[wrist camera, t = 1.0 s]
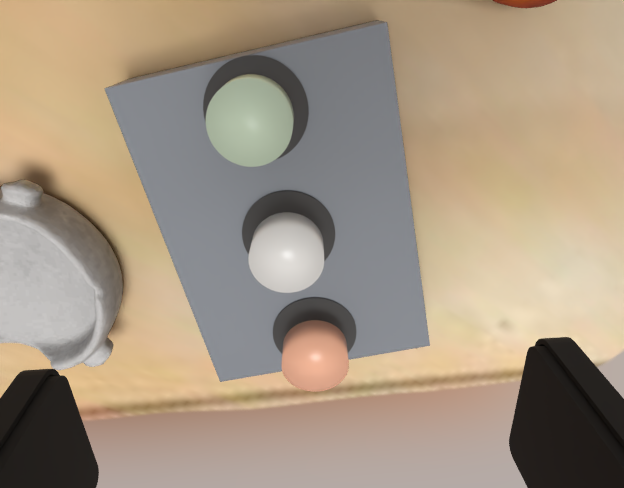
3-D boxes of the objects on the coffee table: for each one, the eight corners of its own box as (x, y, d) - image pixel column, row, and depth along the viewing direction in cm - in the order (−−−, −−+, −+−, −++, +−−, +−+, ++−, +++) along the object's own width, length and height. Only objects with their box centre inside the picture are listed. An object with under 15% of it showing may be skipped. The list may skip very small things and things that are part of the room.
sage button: (283, 65, 25) (281, 70, 23) (301, 147, 27) (301, 157, 25) (202, 84, 25) (193, 90, 23) (226, 163, 27) (220, 174, 25)
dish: (147, 332, 39) (126, 374, 35) (-17, 342, 40) (-59, 385, 35) (99, 162, 33) (67, 187, 29) (-96, 177, 33) (-158, 203, 29)
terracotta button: (340, 314, 32) (342, 333, 30) (351, 365, 34) (354, 385, 32) (276, 326, 32) (274, 345, 30) (291, 375, 34) (290, 396, 32)
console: (377, 20, 29) (387, 22, 25) (418, 314, 39) (430, 347, 35) (128, 79, 30) (103, 89, 27) (228, 348, 40) (219, 383, 36)
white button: (315, 205, 28) (315, 219, 26) (329, 268, 30) (330, 285, 28) (243, 220, 29) (239, 234, 27) (262, 281, 31) (259, 298, 29)
